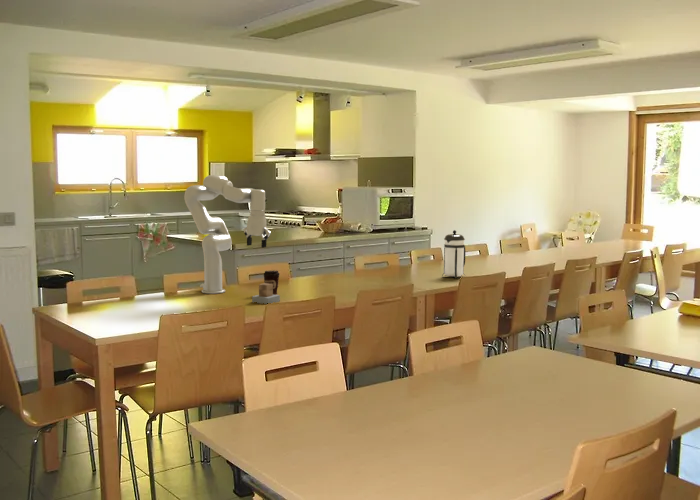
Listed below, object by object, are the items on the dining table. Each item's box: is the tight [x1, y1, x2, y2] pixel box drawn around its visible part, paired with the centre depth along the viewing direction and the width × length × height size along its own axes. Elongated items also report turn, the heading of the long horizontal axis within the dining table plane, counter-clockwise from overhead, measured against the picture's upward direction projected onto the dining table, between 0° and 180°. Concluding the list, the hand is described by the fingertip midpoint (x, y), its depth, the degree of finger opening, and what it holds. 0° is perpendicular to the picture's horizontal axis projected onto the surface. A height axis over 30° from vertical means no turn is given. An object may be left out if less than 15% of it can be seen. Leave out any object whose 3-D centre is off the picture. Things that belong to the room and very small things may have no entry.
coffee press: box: [441, 229, 466, 279], centre depth 455 cm, size 17×16×30 cm
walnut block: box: [258, 282, 273, 297], centre depth 364 cm, size 5×5×6 cm
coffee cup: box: [263, 269, 280, 295], centre depth 384 cm, size 9×8×13 cm
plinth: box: [251, 294, 281, 305], centre depth 364 cm, size 10×10×3 cm
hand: (256, 246), depth 372 cm, fingers open, 9 cm apart
